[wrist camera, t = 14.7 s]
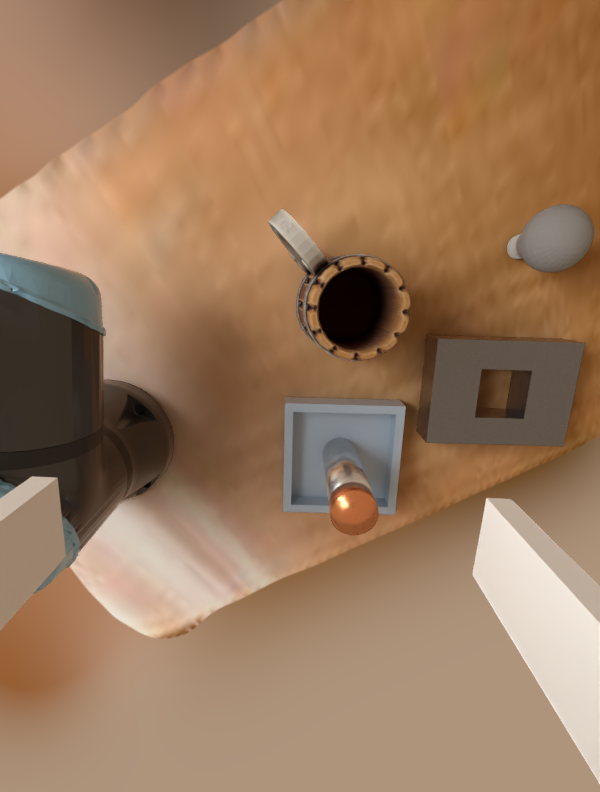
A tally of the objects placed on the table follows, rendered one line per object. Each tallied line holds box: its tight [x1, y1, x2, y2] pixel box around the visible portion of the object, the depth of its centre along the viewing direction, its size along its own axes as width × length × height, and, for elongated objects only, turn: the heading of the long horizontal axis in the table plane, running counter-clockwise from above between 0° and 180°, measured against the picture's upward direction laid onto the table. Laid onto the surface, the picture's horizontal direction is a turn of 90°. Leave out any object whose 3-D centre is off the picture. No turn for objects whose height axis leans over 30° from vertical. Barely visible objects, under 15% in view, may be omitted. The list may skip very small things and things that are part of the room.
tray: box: [283, 397, 406, 515], centre depth 50 cm, size 14×14×3 cm
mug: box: [268, 209, 411, 361], centre depth 39 cm, size 16×11×15 cm
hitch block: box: [417, 335, 585, 446], centre depth 47 cm, size 16×12×4 cm
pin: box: [322, 438, 379, 535], centre depth 43 cm, size 4×4×14 cm
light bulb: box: [507, 204, 594, 272], centre depth 40 cm, size 6×6×10 cm
